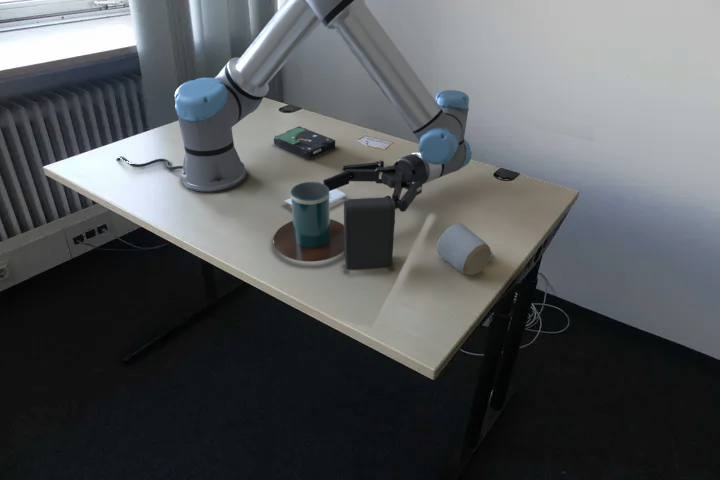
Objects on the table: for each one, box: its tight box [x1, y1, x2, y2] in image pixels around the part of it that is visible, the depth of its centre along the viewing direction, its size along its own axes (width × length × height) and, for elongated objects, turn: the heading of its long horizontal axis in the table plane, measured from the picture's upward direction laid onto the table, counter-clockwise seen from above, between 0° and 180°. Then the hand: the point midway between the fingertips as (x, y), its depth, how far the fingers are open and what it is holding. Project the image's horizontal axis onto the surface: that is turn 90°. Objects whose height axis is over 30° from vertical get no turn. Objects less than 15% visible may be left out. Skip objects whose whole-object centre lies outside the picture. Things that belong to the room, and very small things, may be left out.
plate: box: [272, 218, 345, 262], centre depth 107 cm, size 16×16×1 cm
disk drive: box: [273, 125, 336, 160], centre depth 145 cm, size 10×3×15 cm
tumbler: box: [290, 181, 331, 248], centre depth 103 cm, size 8×8×11 cm
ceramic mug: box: [436, 223, 494, 276], centre depth 100 cm, size 11×8×8 cm
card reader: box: [343, 196, 396, 271], centre depth 96 cm, size 9×4×15 cm, turn 97°
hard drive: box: [283, 188, 348, 207], centre depth 120 cm, size 2×8×12 cm
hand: (343, 198), depth 107 cm, fingers open, 13 cm apart
